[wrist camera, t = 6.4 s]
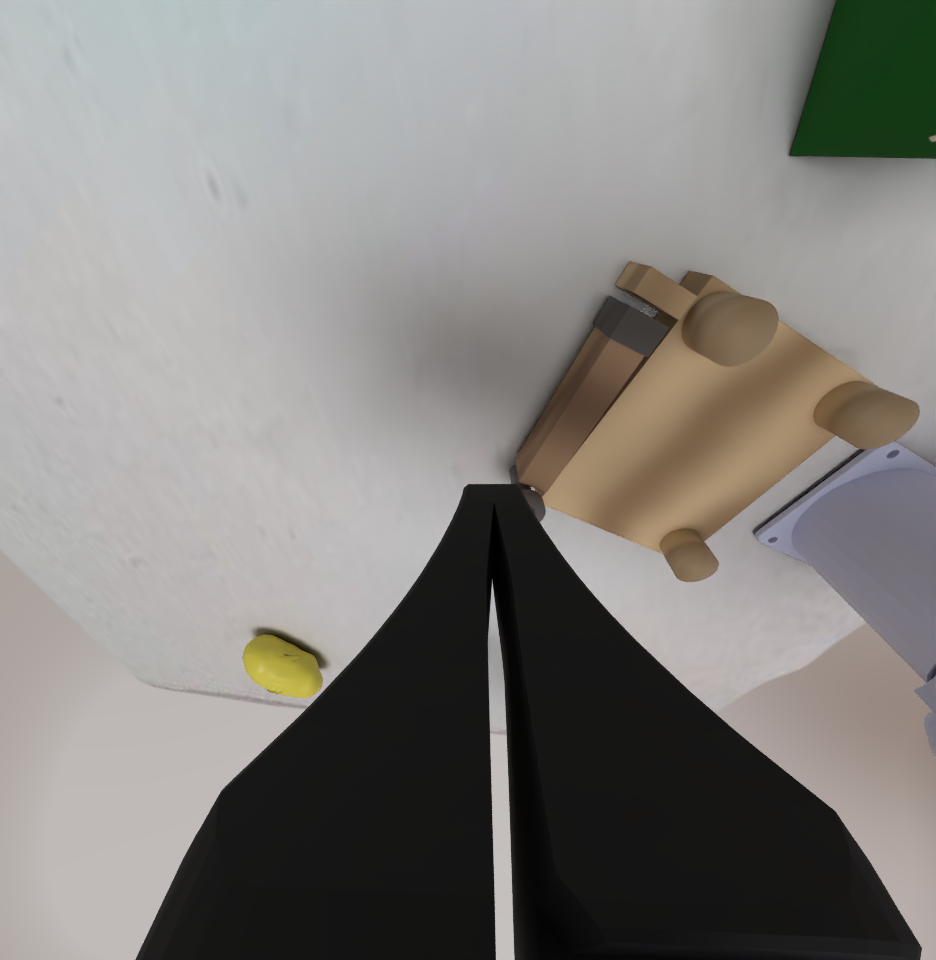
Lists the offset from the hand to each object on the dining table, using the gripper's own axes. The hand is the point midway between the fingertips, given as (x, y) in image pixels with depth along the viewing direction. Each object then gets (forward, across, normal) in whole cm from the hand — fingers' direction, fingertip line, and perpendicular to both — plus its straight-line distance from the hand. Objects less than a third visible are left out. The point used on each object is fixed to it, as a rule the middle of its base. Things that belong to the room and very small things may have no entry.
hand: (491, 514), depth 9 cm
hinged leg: (+10, -4, +1) cm, 10 cm away
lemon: (+10, +18, +25) cm, 32 cm away
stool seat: (+10, -9, +3) cm, 14 cm away
